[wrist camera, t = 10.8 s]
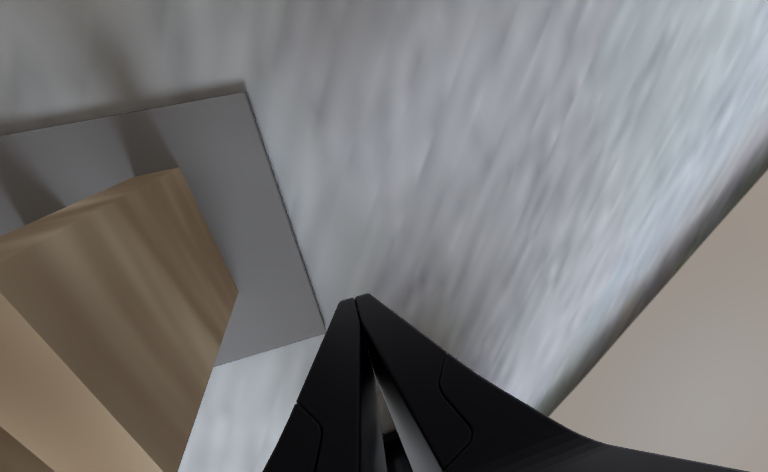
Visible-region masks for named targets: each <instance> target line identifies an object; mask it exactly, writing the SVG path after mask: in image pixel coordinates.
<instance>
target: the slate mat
mask: <svg viewBox="0 0 768 472" xmlns="http://www.w3.org/2000/svg"><path fill="white" fill-rule="evenodd" d="M178 167H180V169H181V171H182V173H183V176H184V178H185V180H186V182H187V184H188V186H189V188H190V190H191V192H192V195H193V197H194V199H195V201H196V203H197V205H198V207H199V209H200V211H201V214H202V216H203V218H204V220H205V222H206V224H207V226H208V228H209V231H210V233H211V235H212V237H213V239H214V241H215V243H216V245H217V247H218V250H219V252H220V254H221V256H222V258H223V260H224V262H225V264H226V266H227V269H228V271H229V273H230V275H231V277H232V279H233V281H234V283H235V285H236V288H237V290H238V292H239V293H238V296H237V299H236V301H235V304H234V307H233V310H232V313H231V316H230V319H229V322H228V325H227V328H226V331H225V334H224V337H223V340H222V342H221V345H220V348H219V351H218V354H217V357H216V360H215V363H214V366H213V367H216V366H219V365H222V364H226V363H229V362H232V361H235V360H239V359H242V358H245V357H249V356H252V355H255V354H259V353H262V352H265V351H269V350H272V349H275V348H278V347H282V346H285V345H288V344H292V343H295V342H298V341H302V340H305V339H308V338H312V337H315V336H318V335H321V334H325V333H326V328H325V325H324V322H323V319H322V316H321V313H320V310H319V307H318V304H317V301H316V299H315V296H314V293H313V290H312V287H311V284H310V281H309V278H308V275H307V272H306V269H305V266H304V263H303V260H302V257H301V254H300V251H299V248H298V245H297V242H296V239H295V236H294V233H293V230H292V228H291V225H290V222H289V219H288V216H287V213H286V210H285V207H284V204H283V201H282V198H281V195H280V192H279V189H278V186H277V183H276V180H275V177H274V174H273V171H272V168H271V165H270V162H269V159H268V156H267V154H266V151H265V148H264V145H263V142H262V139H261V136H260V133H259V130H258V127H257V124H256V121H255V118H254V115H253V112H252V109H251V106H250V103H249V100H248V97H247V94H246V92H242V93H236V94H230V95H225V96H219V97H214V98H208V99H203V100H197V101H192V102H186V103H180V104H175V105H169V106H164V107H158V108H153V109H147V110H141V111H136V112H130V113H125V114H119V115H114V116H108V117H103V118H97V119H91V120H86V121H80V122H75V123H69V124H64V125H58V126H53V127H47V128H41V129H36V130H30V131H25V132H19V133H14V134H8V135H3V136H0V236H2V235H5V234H7V233H9V232H11V231H14V230H16V229H18V228H20V227H23V226H25V225H27V224H29V223H32V222H34V221H36V220H38V219H40V218H43V217H45V216H47V215H49V214H52V213H54V212H56V211H58V210H61V209H63V208H65V207H67V206H70V205H72V204H74V203H76V202H79V201H81V200H83V199H85V198H88V197H90V196H92V195H94V194H97V193H99V192H101V191H103V190H106V189H108V188H110V187H112V186H114V185H117V184H119V183H121V182H123V181H126V180H128V179H130V178H132V177H135V176H139V175H144V174H149V173H154V172H159V171H163V170H168V169H173V168H178Z"/></svg>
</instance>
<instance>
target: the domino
mask: <svg viewBox="0 0 768 472" xmlns="http://www.w3.org/2000/svg"><path fill="white" fill-rule="evenodd" d="M238 293H239V292H238V290H237V288H236V285H235V283H234V281H233V279H232V277H231V275H230V273H229V271H228V269H227V266H226V264H225V262H224V260H223V258H222V256H221V254H220V252H219V250H218V247H217V245H216V243H215V241H214V239H213V237H212V235H211V233H210V231H209V228H208V226H207V224H206V222H205V220H204V218H203V216H202V214H201V211H200V209H199V207H198V205H197V203H196V201H195V199H194V197H193V195H192V192H191V190H190V188H189V186H188V184H187V182H186V180H185V178H184V176H183V173H182V171H181V169H180V167H178V168H173V169H168V170H163V171H159V172H154V173H149V174H144V175H139V176H135V177H132V178H130V179H128V180H126V181H123V182H121V183H119V184H117V185H114V186H112V187H110V188H108V189H106V190H103V191H101V192H99V193H97V194H94V195H92V196H90V197H88V198H85V199H83V200H81V201H79V202H76V203H74V204H72V205H70V206H67V207H65V208H63V209H61V210H58V211H56V212H54V213H52V214H49V215H47V216H45V217H43V218H40V219H38V220H36V221H34V222H32V223H29V224H27V225H25V226H23V227H20V228H18V229H16V230H14V231H11V232H9V233H7V234H5V235H2V236H0V426H1V427H2V428H3V429H4V430H6V431H7V432H8V433H9V434H10V435H12V436H13V437H14V438H15V439H16V440H18V441H19V442H20V443H21V444H22V445H24V446H25V447H26V448H27V449H28V450H30V451H31V452H32V453H33V454H35V455H36V456H37V457H38V458H39V459H41V460H42V461H43V462H44V463H45V464H47V465H48V466H49V467H50V468H51V469H53V470H54V471H55V472H177V471H178V469H179V466H180V463H181V460H182V457H183V454H184V451H185V448H186V445H187V442H188V439H189V436H190V433H191V430H192V427H193V425H194V422H195V419H196V416H197V413H198V410H199V407H200V404H201V401H202V398H203V395H204V392H205V389H206V386H207V384H208V381H209V378H210V375H211V372H212V369H213V366H214V363H215V360H216V357H217V354H218V351H219V348H220V345H221V342H222V340H223V337H224V334H225V331H226V328H227V325H228V322H229V319H230V316H231V313H232V310H233V307H234V304H235V301H236V299H237V296H238Z"/></svg>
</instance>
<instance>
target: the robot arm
mask: <svg viewBox="0 0 768 472" xmlns="http://www.w3.org/2000/svg"><path fill="white" fill-rule="evenodd" d="M356 305H357V306H356ZM357 309H358V310H357ZM363 332H364V333H363ZM368 351H369V352H368ZM369 355H370V356H369ZM370 359H371V360H370ZM372 366H373V367H372ZM373 370H374V372H373ZM374 373H375V376H374ZM375 377H376V379H377V382H378V385H379V387H380V390H381V392H382V395H383V397H384V400H385V402H386V405H387V407H388V410H389V412H390V415H391V417H392V420H393V422H394V425H395V427H396V430H397V432H395V433H392V434H390V435H387V436H384V437H383V435H382V428H381V420H380V412H379V405H378V397H377V389H376V382H375ZM263 472H748V471H743V470H738V469H732V468H727V467H722V466H717V465H712V464H706V463H701V462H696V461H691V460H686V459H680V458H675V457H670V456H665V455H660V454H654V453H649V452H644V451H639V450H634V449H628V448H623V447H618V446H613V445H608V444H604V443H602V442H598V441H595V440H593V439H590V438H587V437H585V436H583V435H580V434H578V433H576V432H574V431H572V430H570V429H568V428H566V427H565V426H563V425H561V424H559V423H558V422H555V421H554V420H552V419H551V418H549V417H547V416H546V415H544V414H542V413H541V412H539V411H537V410H536V409H534V408H532V407H531V406H529V405H527V404H525V403H524V402H522V401H520V400H519V399H517V398H515V397H514V396H512V395H510V394H509V393H507V392H505V391H503V390H502V389H500V388H498V387H497V386H495V385H494V384H492V383H490V382H489V381H487V380H486V379H484V378H482V377H481V376H479V375H478V374H476V373H475V372H473V371H472V370H471V369H469V368H468V367H466V366H465V365H464V364H462V363H461V362H459V361H458V360H457V359H455V358H454V357H453V356H452V355H450V354H447V352H446V351H445V350H443V349H442V348H441V347H439V346H438V345H437V344H435V343H434V342H433V341H431V340H430V339H429V338H427V337H426V336H425V335H424V334H422V333H421V332H420V331H418V330H417V329H416V328H414V327H413V326H412V325H410V324H409V323H408V322H406V321H405V320H404V319H402V318H401V317H400V316H398V315H397V314H396V313H394V312H393V311H392V310H390V309H389V308H388V307H386V306H385V305H384V304H382V303H381V302H380V301H378V300H377V299H376V298H374V297H373V296H372V295H371V294H369V293H367V294H363V295H360V296H357V297H356V298H355V299H354V298H349V299H346V300H343V301H340V302H339V304H338V307H337V309H336V311H335V313H334V316H333V318H332V320H331V323H330V325H329V327H328V330H327V332H326V334H325V337H324V339H323V341H322V344H321V346H320V348H319V350H318V353H317V355H316V357H315V360H314V362H313V364H312V367H311V369H310V371H309V374H308V376H307V378H306V380H305V383H304V385H303V387H302V390H301V392H300V394H299V397H298V399H297V404H295V405H294V408H293V410H292V412H291V415H290V417H289V419H288V422H287V424H286V426H285V428H284V430H283V432H282V434H281V437H280V439H279V441H278V443H277V445H276V447H275V449H274V451H273V453H272V455H271V456H270V458H269V460H268V462H267V464H266V466H265V468H264V470H263Z"/></svg>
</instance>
